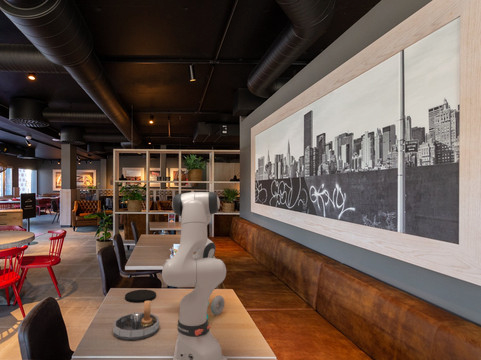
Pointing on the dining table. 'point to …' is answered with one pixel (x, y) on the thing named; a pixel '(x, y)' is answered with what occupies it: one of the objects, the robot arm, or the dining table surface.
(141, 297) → the wireless charger
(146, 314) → the peg on round base
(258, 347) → the dining table surface
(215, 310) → the donut
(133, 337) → the bowl
